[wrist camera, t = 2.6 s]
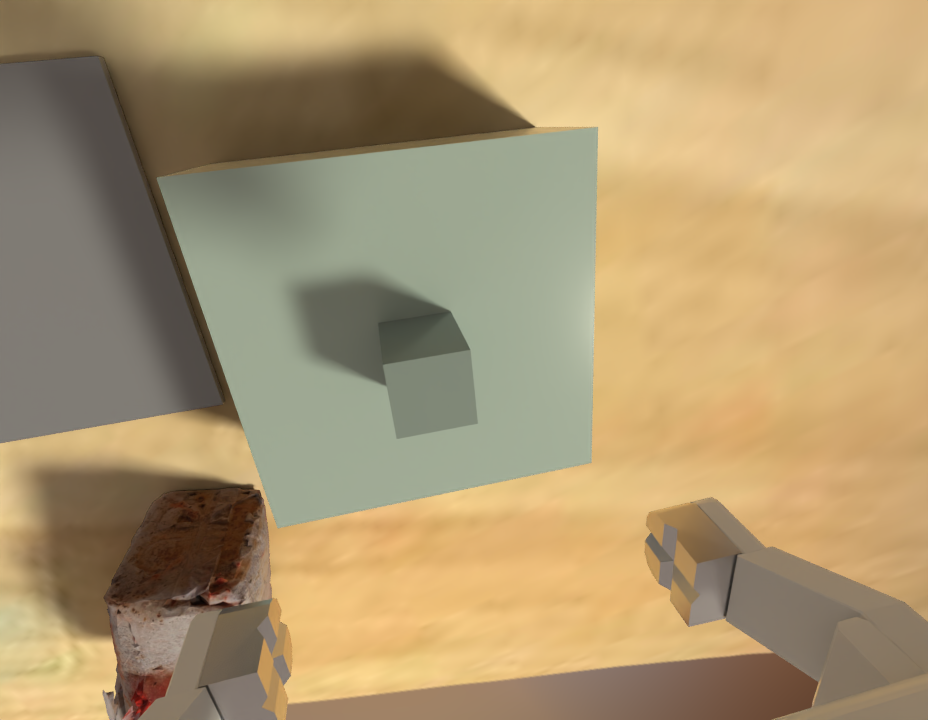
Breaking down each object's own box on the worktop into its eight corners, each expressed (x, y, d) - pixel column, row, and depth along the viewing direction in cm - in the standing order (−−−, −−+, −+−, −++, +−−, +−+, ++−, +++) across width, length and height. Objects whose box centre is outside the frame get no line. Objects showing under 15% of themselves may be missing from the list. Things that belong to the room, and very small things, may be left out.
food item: (282, 634, 36) (258, 796, 28) (160, 645, 35) (93, 821, 26) (277, 482, 31) (245, 623, 22) (132, 485, 29) (35, 640, 20)
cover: (211, 163, 23) (101, 191, 13) (536, 127, 25) (655, 126, 15) (294, 442, 30) (263, 599, 20) (544, 395, 32) (629, 517, 22)
